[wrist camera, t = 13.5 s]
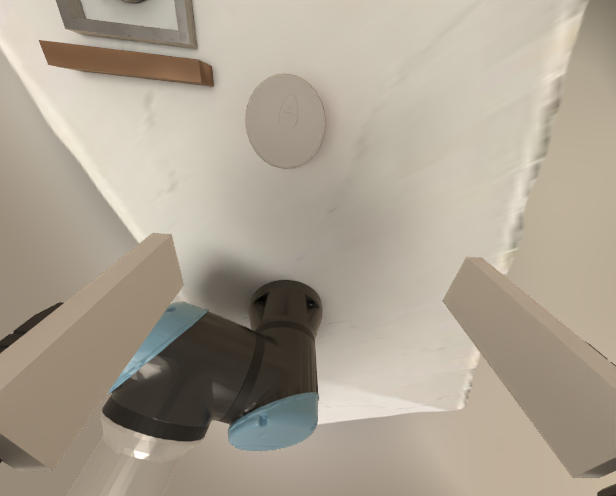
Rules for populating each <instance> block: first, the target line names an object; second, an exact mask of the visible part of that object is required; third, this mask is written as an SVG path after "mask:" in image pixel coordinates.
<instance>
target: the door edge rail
mask: <svg viewBox="0 0 616 496" xmlns="http://www.w3.org/2000/svg"><path fill="white" fill-rule="evenodd" d="M39 42H40V45H41V47H42V50H43V52H44V55H45V58H46V60H47V63H48V65H52V66H57V67H62V68H68V69H73V70H78V71H85V72H94V73H103V74H111V75H120V76H128V77H137V78H146V79H154V80H163V81H171V82H180V83H189V84H197V85H206V86H214V84H213V74H212V66H210V65H208V64H206V63H204V62H202V61H200V60H197V59H189V58H180V57H172V56H164V55H156V54H148V53H140V52H132V51H124V50H115V49H107V48H99V47H91V46H83V45H75V44H67V43H58V42H50V41H42V40H39Z"/></svg>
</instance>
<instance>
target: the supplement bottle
mask: <svg viewBox="0 0 616 496" xmlns="http://www.w3.org/2000/svg"><path fill="white" fill-rule="evenodd" d="M122 1H125V2H139V1H142V0H122Z"/></svg>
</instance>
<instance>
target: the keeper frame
mask: <svg viewBox="0 0 616 496" xmlns="http://www.w3.org/2000/svg"><path fill="white" fill-rule="evenodd" d="M174 1H175V8H176V15H177V22H178V29H179V31H175V30H167V29H160V28H152V27H144V26H137V25H129V24H121V23H114V22H106V21H98V20H90V19H85V15H84V12H83V9H82V5H81V2H80V0H56V2H57V5H58V8H59V11H60V14H61V17H62V20H63V23H64V26H65V29H68V30H71V31H74V32H76V33H79V34H84V35H91V36H99V37H107V38H115V39H123V40H131V41H139V42H147V43H155V44H163V45H171V46H179V47H187V48H195V49H197V42H196V34H195V25H194V17H193V8H192V0H174Z"/></svg>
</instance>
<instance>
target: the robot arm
mask: <svg viewBox="0 0 616 496" xmlns="http://www.w3.org/2000/svg"><path fill="white" fill-rule="evenodd" d="M183 285H184V284H183V280H182V275H181V271H180V267H179V263H178V259H177V255H176V251H175V247H174V242H173V238H172V234H159V233H152V234H151V235H150V236H148V237H147V238H146V239H145V240H143V241H142V242H141V243H140V244H138V245H137V246H136V247H135V248H133V249H132V250H131V251H129V252H128V253H127V254H126V255H124V256H123V257H122V258H121V259H119V260H118V261H117V262H116V263H114V264H113V265H112V266H111V267H109V268H108V269H107V270H106V271H104V272H103V273H102V274H100V275H99V276H98V277H97V278H95V279H94V280H93V281H92V282H90V283H89V284H88V285H87V286H85V287H84V288H83V289H81V290H80V291H79V292H78V293H77V294H75V295H74V296H73V297H71V298H70V299H69V300H67V301H66V302H65V303H57V304H56V305H54V306H52V307H50V308H48V309H46V310H44V311H42V312H40V313H38V314H36V315H34V316H33V317H32V318H30V319H29V320H28V321H26V322H25V323H24V324H22V325H21V326H20V327H18V328H17V329H16V330H14V333H13V334H9V335H8V336H6V337H5V338H4V339H2V340H1V341H0V463H1V461H3V462H4V463H6V464H8V465H9V466H11V467H13V468H14V469H16V470H23V471H53V470H54V468H55V467H56V465H57V464H58V462H59V461H60V460H61V458H62V457H63V455H64V454H65V453H66V451H67V450H68V448H69V447H70V445H71V444H72V443H73V441H74V440H75V438H76V437H77V436H78V434H79V433H80V431H81V430H82V428H83V427H84V426H85V424H86V423H87V421H88V420H89V418H90V417H91V415H92V414H93V413H94V411H95V410H96V409H97V407H98V406H99V404H100V403H101V401H102V400H103V399H104V397H105V396H106V394H107V393H112V395H111V397H110V398H109V399H108V401H107V402H106V404H105V406H104V407H103V409H102V410H101V413H100V418H101V422H102V426H103V430H104V433H103V437H102V438H101V440H100V441H99V443H98V445H97V446H96V448H95V450H94V451H93V453H92V454H91V456H90V458H89V459H88V461H87V463H86V464H85V466H84V468H83V469H82V471H81V472H80V474H79V476H78V477H77V479H76V481H75V482H74V484H73V485H72V487H71V488H70V490H69V492H68V493H67V495H66V496H164V494H165V492H166V489H167V487H168V485H169V483H170V480H171V478H172V476H173V474H174V471H175V470H176V467H177V465H178V463H179V461H180V459H181V456H182V455H183V454H184V453H185V452H186V451H188V450H189V449H191V448H192V447H194V446H196V445H197V444H198V443H200V442H201V441H202V440H203V438H204V436H205V434H206V432H207V429H208V427H209V425H210V422H211V421H212V420H216V421H220V422H224V423H227V424H229V425H230V427H229V430H228V438H229V442H230V444H231V445H234V446H235V447H236V448H238V449H242V450H247V451H268V450H276V449H281V448H285V447H289V446H292V445H295V444H297V443H300V442H302V441H303V440H305V439H307V438H308V437H309V436H310V435H311V434H312V433H313V432H314V430H315V428H316V426H317V422H318V400H319V394H318V383H317V367H316V351H315V337H316V334H317V331H318V328H319V325H320V322H321V319H322V306H321V301H320V298H319V296H318V295H317V294H316V292H315V291H314V290H312V289H311V288H310V287H308V286H306V285H304V284H302V283H299V282H295V281H276V282H272V283H269V284H266V285H264V286H263V287H261V288H260V289H259V290H258V291H257V292H256V293H255V294H254V296H253V298H252V301H251V305H250V309H249V316H250V323H251V329H249V328H246V327H244V326H242V325H239V324H237V323H235V322H232V321H230V320H227V319H225V318H223V317H220V316H218V315H216V314H213V313H211V312H208V311H209V310H208V309H202V308H199V307H196V306H194V305H191V304H188V303H185V302H175V303H172V304H171V305H170V303H171V302H172V301H173V299H174V298H175V296H176V295H177V294H178V292H179V291H180V289H181V288H182V286H183ZM443 302H444V304H445V305H446V307H447V308H448V309H449V311H450V312H451V313H452V315H453V316H454V317H455V319H456V320H457V321H458V323H459V324H460V326H461V327H462V328H463V330H464V331H465V332H466V334H467V335H468V336H469V338H470V339H471V340H472V342H473V343H474V345H475V346H476V347H477V349H478V350H479V351H480V353H481V354H482V355H483V357H484V358H485V359H486V361H487V362H488V363H489V365H490V366H491V368H492V369H493V370H494V371H495V373H496V374H497V375H498V377H499V378H500V380H501V381H502V382H503V384H504V385H505V387H506V388H507V389H508V391H509V392H510V393H511V395H512V396H513V397H514V399H515V400H516V401H517V403H518V404H519V406H520V407H521V408H522V410H523V411H524V412H525V414H526V415H527V416H528V418H529V419H530V420H531V422H532V423H533V425H534V426H535V427H536V429H537V430H538V431H539V433H540V434H541V435H542V437H543V438H544V440H545V441H546V442H547V444H548V445H549V446H550V447H551V449H552V450H553V452H554V453H555V454H556V456H557V457H558V459H559V460H560V461H561V463H562V464H563V465H564V467H565V468H566V469H567V471H568V472H569V473H570V475H571V476H572V477H573V478H600V477H602V476H605V475H607V474H609V473H611V472H614V471H616V365H615V364H613V363H612V362H609V361H608V360H607V358H606V357H605V356H603V355H602V354H601V353H600V352H598V351H597V350H596V349H595V348H594V347H592V346H591V345H590V344H588V343H587V342H585V341H584V340H582V339H581V338H580V337H579V336H577V335H576V334H575V333H574V332H573V331H571V330H570V329H569V328H568V327H566V326H565V325H564V324H563V323H562V322H560V321H559V320H558V319H557V318H555V317H554V316H553V315H552V314H550V313H549V312H548V311H547V310H546V309H544V308H543V307H542V306H541V305H539V304H538V303H537V302H536V301H534V300H533V299H532V298H531V297H530V296H528V295H527V294H526V293H525V292H523V291H522V290H521V289H520V288H518V287H517V286H516V285H515V284H513V283H512V282H511V281H510V280H509V279H507V278H506V277H505V276H504V275H502V274H501V273H500V272H499V271H498V270H496V269H495V268H494V267H493V266H491V265H490V264H489V263H488V262H486V261H485V260H484V259H483V258H475V257H466V259H465V260H464V262H463V264H462V266H461V268H460V270H459V271H458V273H457V275H456V277H455V279H454V281H453V282H452V284H451V286H450V288H449V290H448V292H447V293H446V295H445V297H444V299H443ZM597 494H598V495H597V496H616V484H614V485H612V486H609V487H607V488H605V489H602V490H601V491H599V492H598V493H597Z"/></svg>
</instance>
